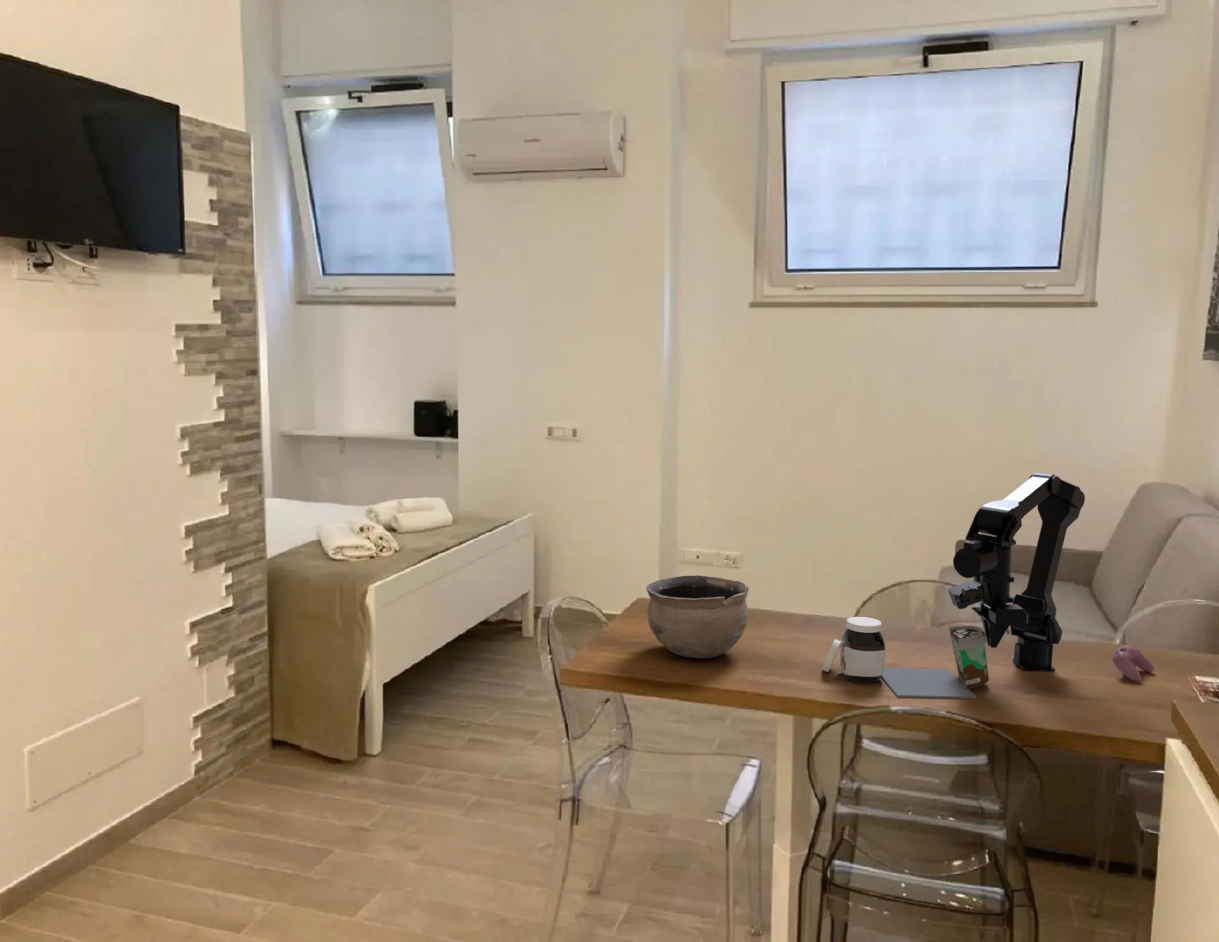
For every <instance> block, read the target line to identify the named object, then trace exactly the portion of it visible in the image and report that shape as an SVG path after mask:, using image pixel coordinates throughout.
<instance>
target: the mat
mask: <svg viewBox="0 0 1219 942" xmlns="http://www.w3.org/2000/svg"><path fill="white" fill-rule="evenodd" d="M881 679H882V680H883V681H884V683H886V685H887V686H888V687H889V689H890V690H891V691H892V692H893V694H894V695H895V696H896V697H897V698H919V699H920V698H921V699H922V698H924V699H968V700H969V699H972V700H973V699H974V700H975V699H977V696H976V695H975V694H974V693H973V692H972V691H971V690H970V688H968V689H967V688H966V687H965V685H964V684H963V682H962V681H961V680H960V679H958V678H957V677H956V676H955V675H954V674H953V673H952V672H951V671H950V670H949V669H947V668H903V667H902V668H901V667H884V674H883V677H882V678H881Z"/></svg>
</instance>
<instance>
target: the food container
mask: <svg viewBox="0 0 1219 942" xmlns="http://www.w3.org/2000/svg"><path fill="white" fill-rule="evenodd" d="M948 629H949V630H948V631H949V636H950V638H951V639H950V640H951V644H952V649H953V654H954V655H953V656H954V658H955V663H956V664H955V665H956V668H957V673H958V677H959V680H960V681H961V683H963V684H964V685H965V687H966V688H967V689H973V688H977V687H981V686H983V685H985V684H987V683H988V682H989V680H990V676H989V669H988V668H989V667H988V659H987V654H986V653H987V652H986V645H985V644H986V643H987V640H988V639H987V637H986V635H985V631H984V629H983V628H981V627H979V626H975V625H957V626H955V625H954V626H949V627H948Z"/></svg>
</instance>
